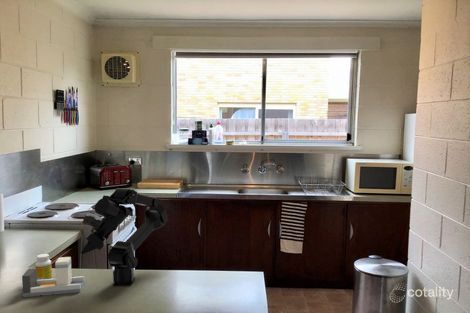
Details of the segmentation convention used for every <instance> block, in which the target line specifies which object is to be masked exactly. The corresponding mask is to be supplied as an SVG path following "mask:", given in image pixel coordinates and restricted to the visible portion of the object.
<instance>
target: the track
mask: <svg viewBox="0 0 470 313" xmlns="http://www.w3.org/2000/svg"><path fill="white" fill-rule="evenodd" d="M21 280H22V281H21V282H22V298H28V297H29V298H30V297H39V296H40V295H42V296H51V295H52V294H54V295H62V294H63V295H64V294H74V293H81V291H82V289H83V287H84V285H85V276H84V275H82V276H80V275H79V276H72V282H71V283H70V284H68V285H56V277H55V278H52V279H41V280H37V270H36V268H35V267H33V268H31V267H30V268H28V269H27V270H26V271H25V272H24V273H23V274H22V276H21ZM52 296H53V295H52Z"/></svg>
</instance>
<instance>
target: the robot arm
mask: <svg viewBox="0 0 470 313" xmlns="http://www.w3.org/2000/svg"><path fill="white" fill-rule="evenodd" d="M125 205H126V206H125ZM127 205H139V206H144V207H145V209H144V212H143V213H144V214H143V215H144V222H143V223H142V224H141V225H140V226H139V227H138V228H137V229H136V230H135V231H134V232H133V233H132V235H130V236H129V238H127V239H126V240H125V241H121V240H118V241H116V242H115V243H114V244H113V246H112V245H111V246H110V248H111V249H109V251H108V252H107V260H108V262H109V266H110V267H111V268H114V270H113V271H112V275H113V276H112V278H113V279H112V280H113V286H117V287H118V286H132V284H133V283H134V281H135V280H136V277H135V276H134V274H135V273H134V268H136V267H137V266H138V263H139V262H138V260H139V259H138V258H137V257H136V256H135V252H136V250H137V249H138V248H139V247H140V246H141V244H143V243H144V241H145V240H146V239H147V238H148V237H149V236H150V235H151V234H152V232H154V231H155V230H158V229H161V228H163V226H165V225H166V224H167V222H168V220H169V218H168V213H167V211H166V208H165V207H164V206H163V205H162V204H161V203H160V200H159V198H157V197H153V196H148V195H144V194H140V193H138V191H136V190H135V189H133V188H125V187H123V188H121V187H117V188H115V190H114V191H113V193H112V194H110V195H103V196H102V198H100V199H99V200H97V202H96V203H95V205H94V211H95V213H96V214H94V213H91V212H86V213H85V215H84V217H83V219H82V222H81V223H82V224H83V225H88V226H90V227H93V228H91V230H90V233H88V235H87V236H86V238H85V239H86V240H87V242H86V243H85V244H84V247H83V248H82V249H81V251H80V254H81V255H85V254H87V253H90V252H92V251H95V250H96V249H97V250H99V251H101V250H102V249H103V248H104V247H105V245H106V240H108V239H109V237H110V236H111V235H112V234H113V232H115V231H116V230H118V227H120V225H121V224H122V223H123V222H124V221H125V220H126V219H127V218H128V217H131V218H132V217H134V209H133V208H132V207H131V206H127ZM150 208H154V210H151V209H150ZM98 215H100V216H98ZM101 216H102V217H101Z"/></svg>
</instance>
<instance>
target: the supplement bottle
mask: <svg viewBox="0 0 470 313" xmlns="http://www.w3.org/2000/svg"><path fill="white" fill-rule="evenodd" d="M36 260H37V261H36V262H35V263H34V264H35V267H34V268H36V270H37V280H41V279H53V270H52V260H50V255H49V254H48V253H41V254H38V255H36Z"/></svg>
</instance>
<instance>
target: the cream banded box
mask: <svg viewBox="0 0 470 313" xmlns="http://www.w3.org/2000/svg"><path fill="white" fill-rule="evenodd" d="M54 263H55V265H54V266H55V278H56V285H68V284H70V283H71V282H72V277H73V276H72V273H73V272H72V257H71V256H64V257H63V256H62V257H58V258H57V259H56V261H55V262H54Z"/></svg>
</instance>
